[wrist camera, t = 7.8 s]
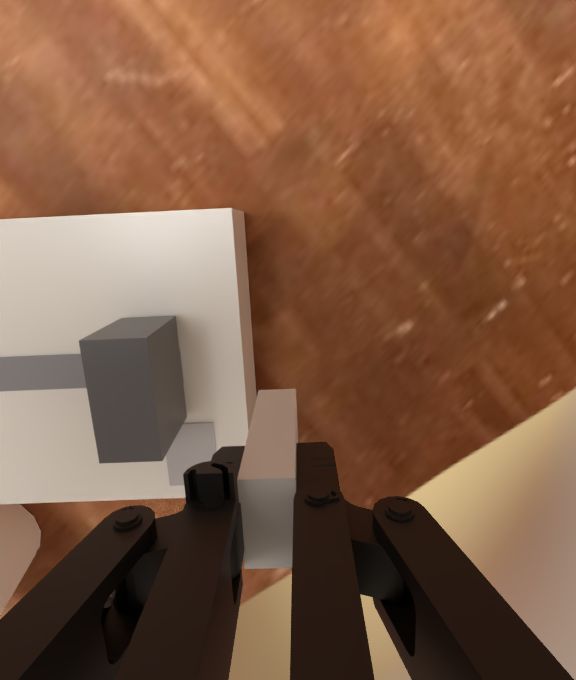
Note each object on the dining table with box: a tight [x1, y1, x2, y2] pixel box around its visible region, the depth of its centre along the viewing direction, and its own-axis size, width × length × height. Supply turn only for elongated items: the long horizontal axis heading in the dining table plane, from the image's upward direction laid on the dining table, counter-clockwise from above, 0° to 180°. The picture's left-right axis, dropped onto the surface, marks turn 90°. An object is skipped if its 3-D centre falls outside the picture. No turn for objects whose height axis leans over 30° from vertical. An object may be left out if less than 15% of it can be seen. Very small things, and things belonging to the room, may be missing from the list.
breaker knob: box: [79, 316, 187, 463], centre depth 23 cm, size 6×3×5 cm, turn 3°
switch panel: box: [0, 208, 257, 504], centre depth 28 cm, size 17×22×6 cm
